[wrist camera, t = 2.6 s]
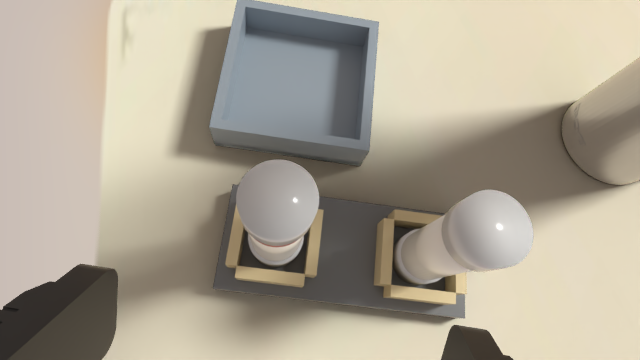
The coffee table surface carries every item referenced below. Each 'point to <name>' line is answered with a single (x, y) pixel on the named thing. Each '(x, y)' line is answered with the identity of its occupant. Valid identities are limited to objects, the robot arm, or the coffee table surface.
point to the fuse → (466, 240)
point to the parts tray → (297, 83)
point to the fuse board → (341, 261)
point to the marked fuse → (277, 209)
